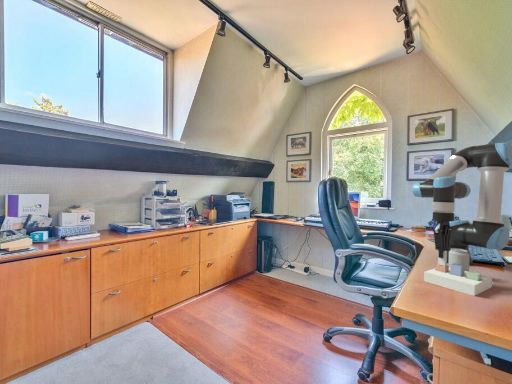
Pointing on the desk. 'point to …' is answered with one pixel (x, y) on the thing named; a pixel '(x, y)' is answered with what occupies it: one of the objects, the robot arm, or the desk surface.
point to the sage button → (474, 276)
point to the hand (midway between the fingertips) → (442, 265)
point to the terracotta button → (442, 268)
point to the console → (458, 282)
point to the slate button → (457, 269)
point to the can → (459, 257)
